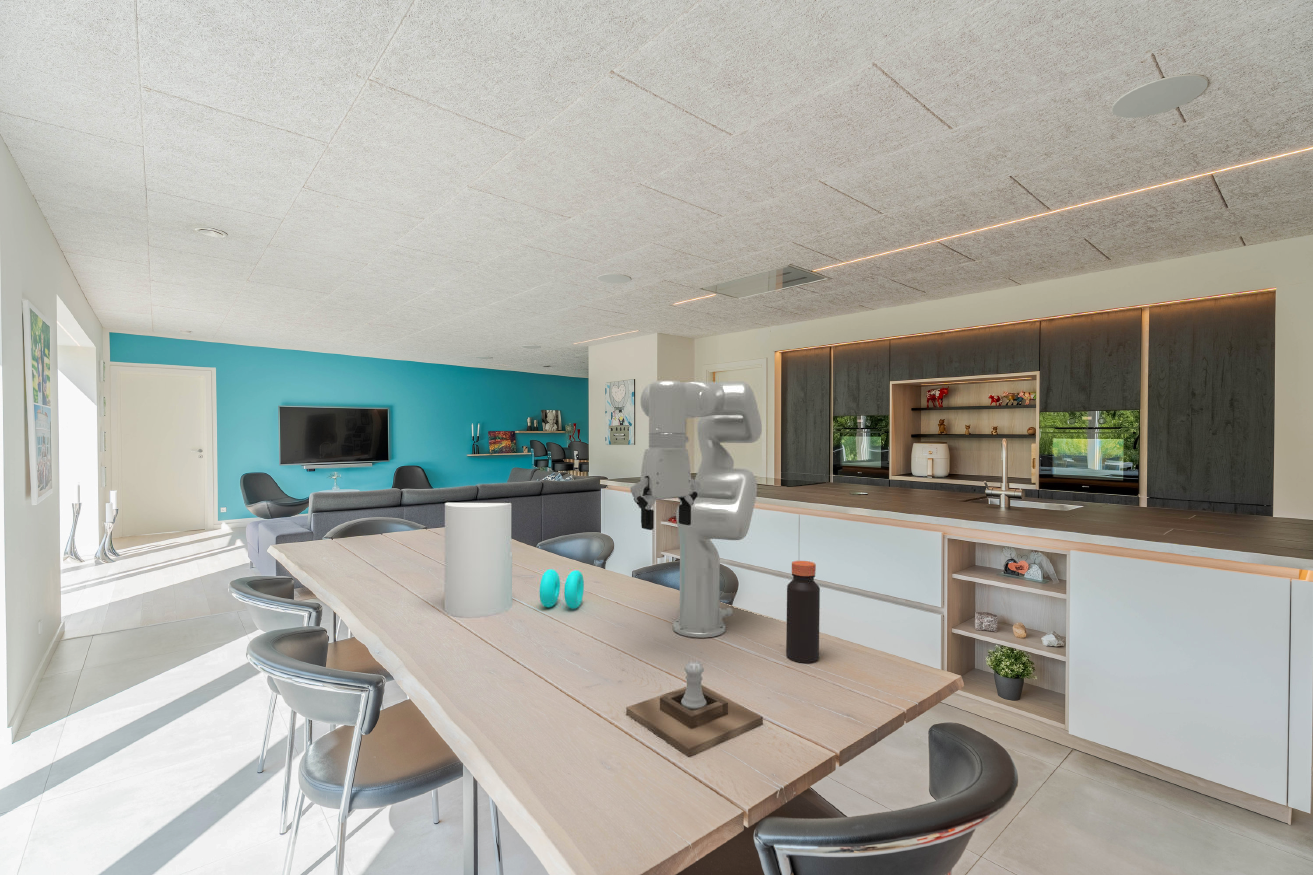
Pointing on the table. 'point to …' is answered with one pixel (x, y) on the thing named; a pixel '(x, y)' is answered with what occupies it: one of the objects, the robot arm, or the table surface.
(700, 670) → the rook chess piece
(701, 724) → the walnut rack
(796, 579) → the bottle
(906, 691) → the table surface
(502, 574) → the cylinder
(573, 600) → the donuts
